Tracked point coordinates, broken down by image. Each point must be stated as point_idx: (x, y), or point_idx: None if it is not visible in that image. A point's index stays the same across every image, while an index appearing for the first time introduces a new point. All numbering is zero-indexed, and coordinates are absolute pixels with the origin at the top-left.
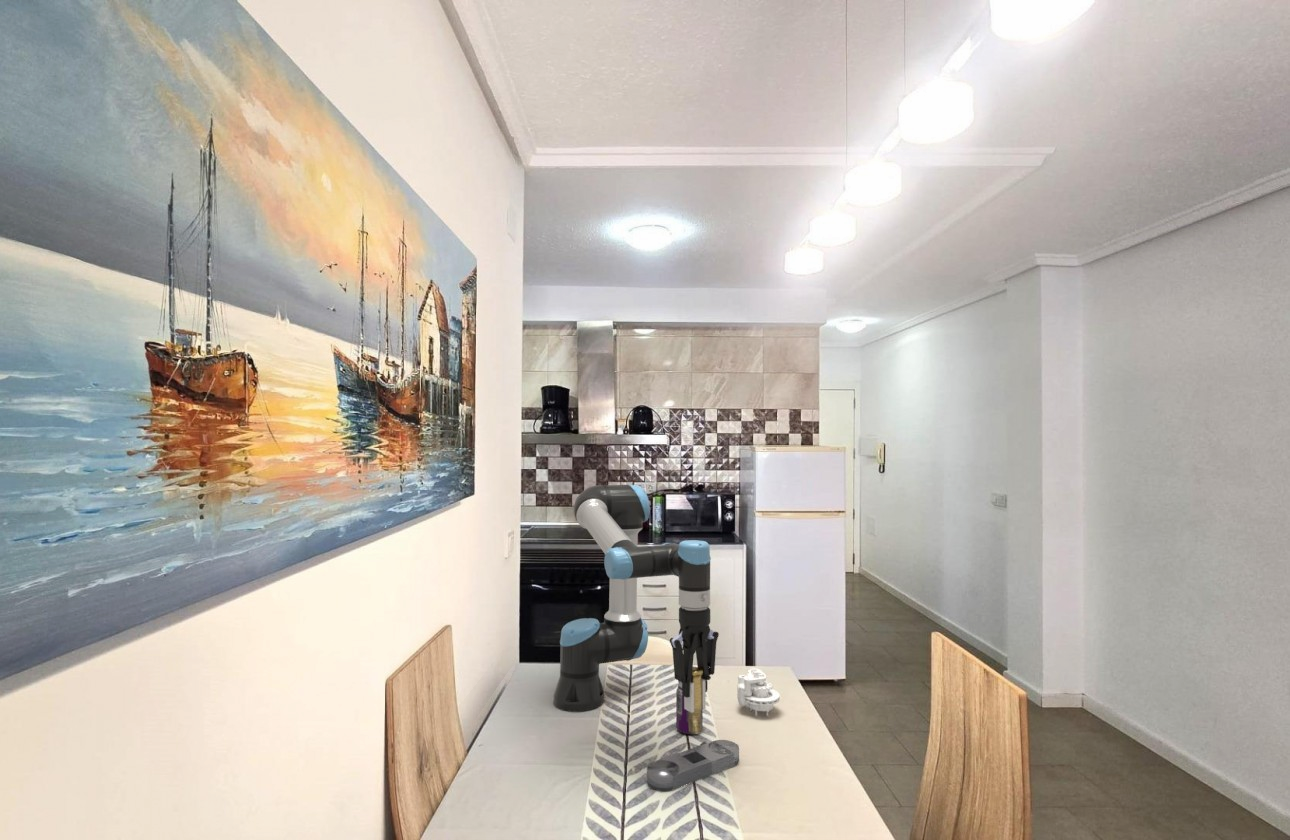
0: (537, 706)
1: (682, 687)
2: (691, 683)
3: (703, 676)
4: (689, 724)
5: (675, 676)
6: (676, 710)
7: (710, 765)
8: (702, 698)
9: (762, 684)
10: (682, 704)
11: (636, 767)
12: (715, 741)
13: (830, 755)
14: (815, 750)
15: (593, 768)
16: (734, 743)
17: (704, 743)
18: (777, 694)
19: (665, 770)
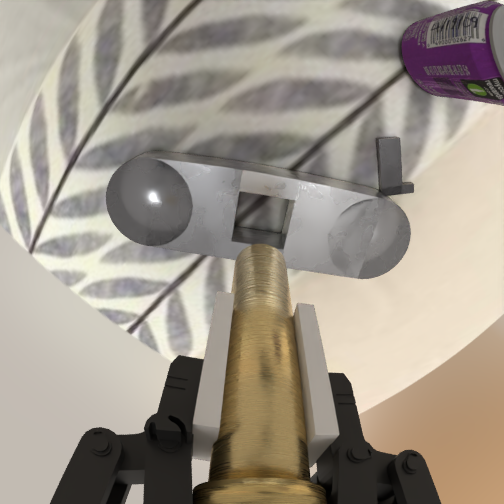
0: None
1: (161, 399)
2: (196, 457)
3: (316, 476)
4: (234, 273)
5: (80, 451)
6: (434, 18)
7: None
8: None
9: None
10: (448, 46)
11: (152, 90)
12: (385, 205)
13: (469, 340)
14: (478, 320)
15: (73, 38)
16: (404, 249)
17: (393, 145)
18: None
19: (146, 215)
